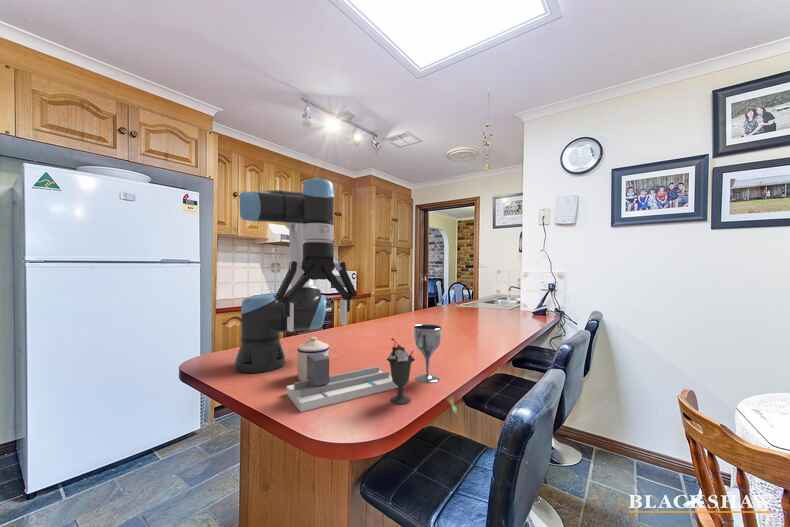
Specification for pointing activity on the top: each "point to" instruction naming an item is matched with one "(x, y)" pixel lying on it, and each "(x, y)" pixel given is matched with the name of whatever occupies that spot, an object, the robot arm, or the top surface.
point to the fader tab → (317, 370)
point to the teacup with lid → (308, 349)
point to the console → (340, 388)
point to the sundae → (400, 371)
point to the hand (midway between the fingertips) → (318, 327)
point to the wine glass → (427, 347)
